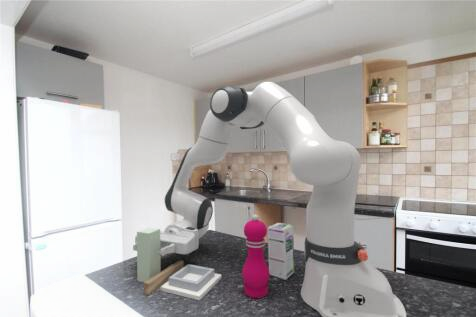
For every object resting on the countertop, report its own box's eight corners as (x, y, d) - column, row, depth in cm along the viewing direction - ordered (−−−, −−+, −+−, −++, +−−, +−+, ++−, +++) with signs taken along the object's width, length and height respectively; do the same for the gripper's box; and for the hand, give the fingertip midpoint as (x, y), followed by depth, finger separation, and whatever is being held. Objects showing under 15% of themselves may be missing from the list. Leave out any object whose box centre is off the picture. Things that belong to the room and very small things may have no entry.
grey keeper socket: (221, 278, 70) (221, 267, 70) (199, 300, 59) (199, 288, 59) (186, 271, 75) (186, 261, 75) (160, 290, 64) (160, 279, 64)
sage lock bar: (160, 276, 72) (160, 229, 72) (149, 283, 67) (149, 233, 67) (148, 273, 73) (148, 227, 73) (137, 280, 69) (136, 231, 69)
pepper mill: (268, 300, 59) (267, 218, 59) (239, 297, 60) (238, 217, 60) (270, 285, 66) (270, 211, 66) (244, 283, 67) (243, 211, 67)
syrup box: (286, 280, 68) (285, 229, 68) (268, 274, 72) (267, 225, 72) (294, 272, 73) (294, 224, 73) (277, 267, 77) (276, 221, 77)
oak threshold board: (183, 270, 75) (183, 260, 75) (148, 295, 61) (148, 283, 61) (179, 269, 76) (179, 260, 76) (143, 294, 62) (143, 282, 62)
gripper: (152, 224, 86) (120, 235, 74) (202, 229, 79) (175, 243, 66) (153, 241, 86) (120, 256, 74) (202, 249, 79) (175, 266, 66)
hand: (147, 250), depth 70 cm, fingers open, 8 cm apart
